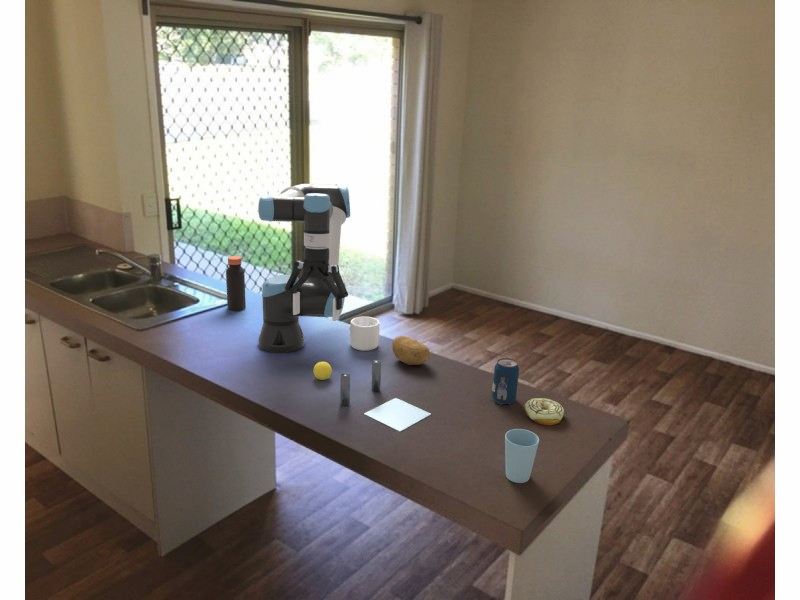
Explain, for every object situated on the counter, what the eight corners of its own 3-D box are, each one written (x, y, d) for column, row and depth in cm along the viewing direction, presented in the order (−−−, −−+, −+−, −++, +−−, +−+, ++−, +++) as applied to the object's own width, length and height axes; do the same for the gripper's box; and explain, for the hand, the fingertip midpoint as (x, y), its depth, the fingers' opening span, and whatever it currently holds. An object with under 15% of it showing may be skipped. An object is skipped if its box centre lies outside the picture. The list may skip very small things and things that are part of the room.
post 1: (338, 404, 181) (338, 375, 178) (344, 401, 183) (345, 372, 180) (344, 407, 180) (345, 378, 177) (351, 404, 182) (352, 375, 179)
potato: (416, 374, 201) (417, 351, 199) (384, 360, 211) (385, 337, 208) (437, 366, 208) (438, 343, 206) (405, 352, 217) (406, 330, 215)
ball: (309, 378, 196) (309, 362, 194) (323, 373, 200) (323, 356, 198) (322, 384, 192) (322, 367, 190) (335, 379, 196) (335, 362, 194)
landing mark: (363, 414, 177) (363, 413, 177) (395, 398, 186) (395, 397, 186) (399, 431, 169) (400, 431, 169) (431, 414, 178) (431, 413, 178)
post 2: (369, 389, 191) (370, 361, 188) (375, 387, 192) (376, 359, 189) (376, 392, 189) (377, 364, 186) (382, 389, 191) (383, 361, 188)
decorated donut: (528, 426, 175) (529, 413, 174) (521, 407, 185) (522, 395, 184) (566, 427, 175) (568, 415, 174) (557, 408, 185) (559, 396, 184)
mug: (364, 336, 229) (365, 312, 226) (388, 344, 223) (389, 319, 221) (342, 346, 220) (343, 321, 217) (366, 354, 214) (367, 329, 211)
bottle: (236, 312, 246) (234, 261, 239) (223, 308, 249) (221, 257, 243) (249, 307, 251) (247, 257, 245) (237, 303, 255) (234, 254, 248)
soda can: (511, 394, 192) (515, 356, 188) (519, 405, 185) (523, 366, 181) (488, 395, 191) (492, 357, 187) (495, 406, 184) (499, 367, 180)
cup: (535, 487, 148) (540, 447, 145) (501, 484, 149) (505, 444, 146) (533, 469, 155) (537, 430, 152) (500, 465, 156) (504, 427, 153)
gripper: (273, 244, 193) (273, 314, 198) (348, 253, 184) (347, 325, 189) (287, 241, 200) (287, 308, 205) (360, 249, 191) (358, 319, 196)
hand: (315, 317), depth 197 cm, fingers open, 13 cm apart
